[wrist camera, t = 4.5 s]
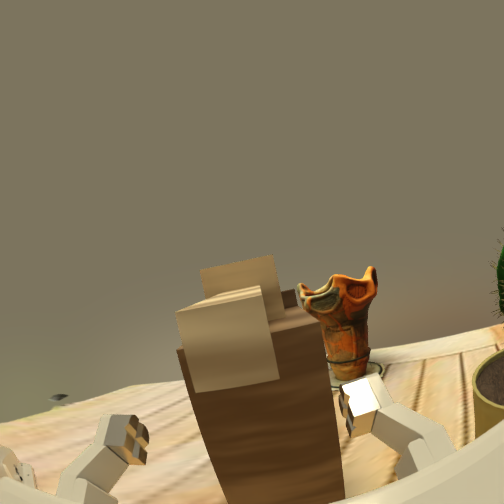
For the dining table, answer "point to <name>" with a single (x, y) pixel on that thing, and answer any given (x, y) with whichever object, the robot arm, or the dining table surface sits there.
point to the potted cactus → (490, 377)
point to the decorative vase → (344, 324)
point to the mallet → (233, 326)
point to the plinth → (276, 422)
